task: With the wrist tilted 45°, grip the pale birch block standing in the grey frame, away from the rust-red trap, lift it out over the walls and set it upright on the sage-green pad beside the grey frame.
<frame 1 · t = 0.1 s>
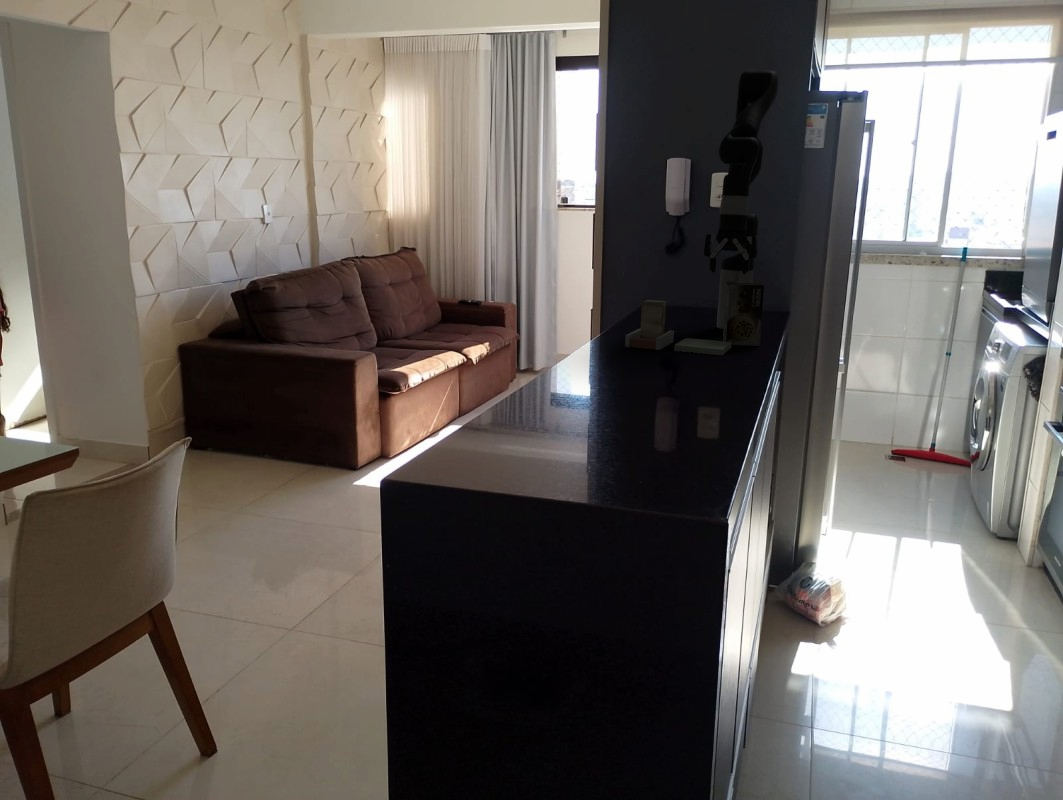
hand: (728, 273, 239), 17 cm above the table, tool pointing down, fingers open, 8 cm apart
pad: (703, 349, 219), on the table
coffee box: (740, 344, 229), on the table
grey frame: (649, 344, 225), on the table
birch block: (651, 343, 226), resting in grey frame
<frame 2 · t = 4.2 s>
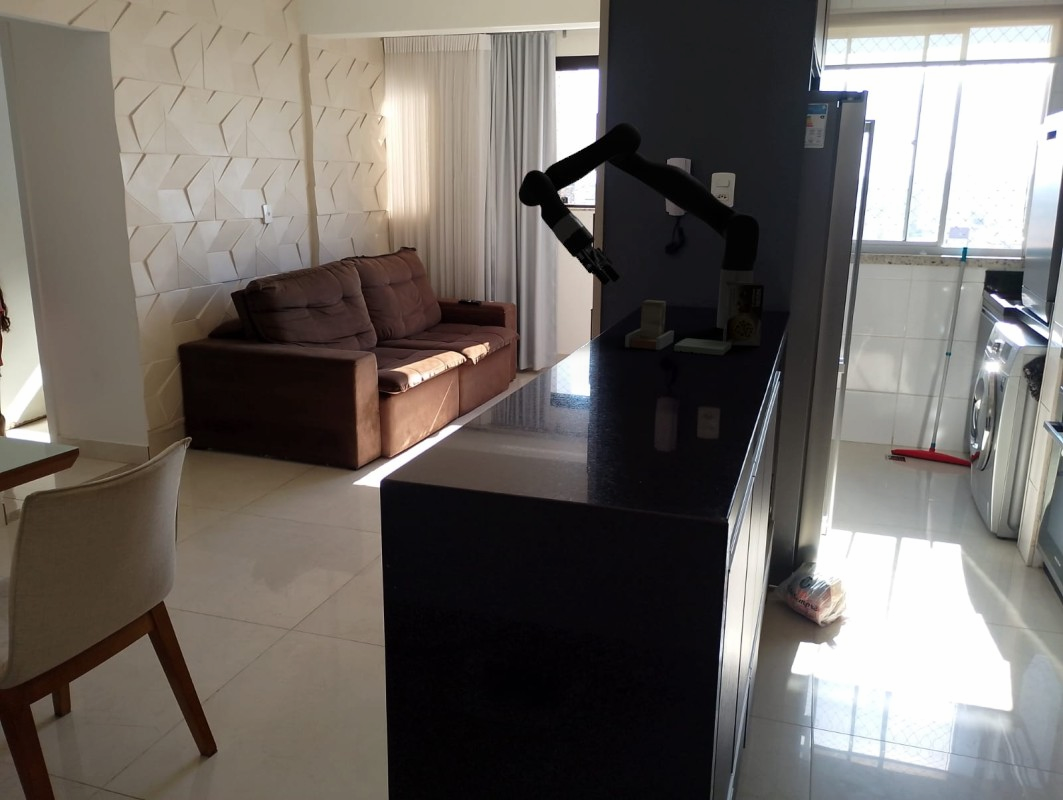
hand: (612, 281, 227), 15 cm above the table, tool tilted 45°, fingers open, 8 cm apart
nothing on the table moved.
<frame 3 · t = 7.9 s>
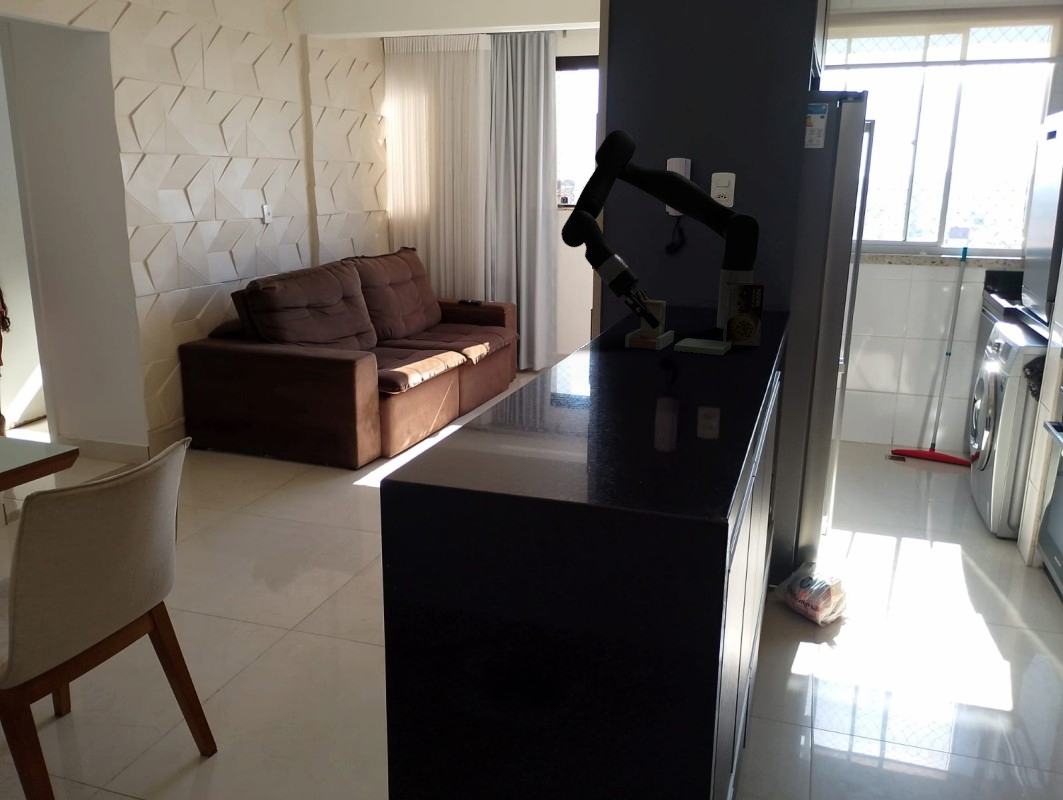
hand: (659, 324, 225), 5 cm above the table, tool tilted 45°, fingers closed on birch block, 5 cm apart
birch block: (651, 343, 226), resting in grey frame, touching gripper
everything else where it was.
when the fingers open (8 cm above the table, at t = 13.6 s): birch block drops 1 cm, resting on pad.
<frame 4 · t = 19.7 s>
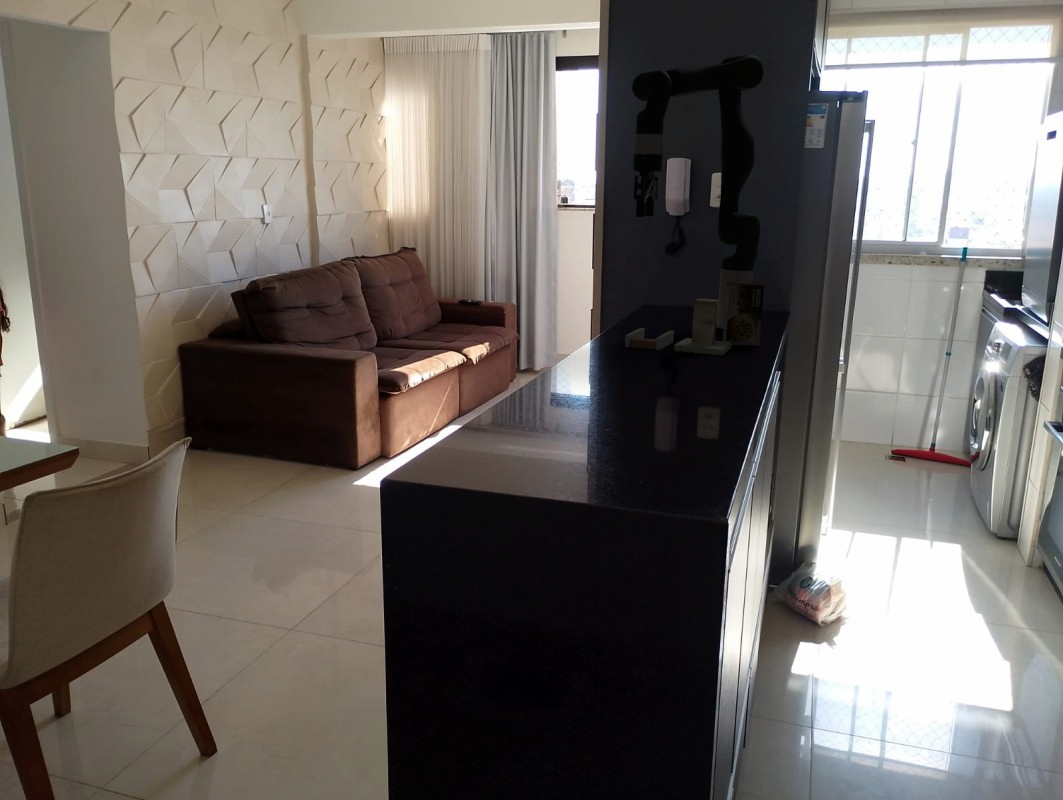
hand: (644, 216, 228), 32 cm above the table, tool pointing down, fingers open, 8 cm apart
birch block: (703, 343, 219), point 1 cm above the table, touching pad
everything else where it was.
at the end: birch block inside the target area on the pad (0.1 cm from its centre), point 1.5 cm above the pad's base; birch block tilted 0°; the gripper is holding nothing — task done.
